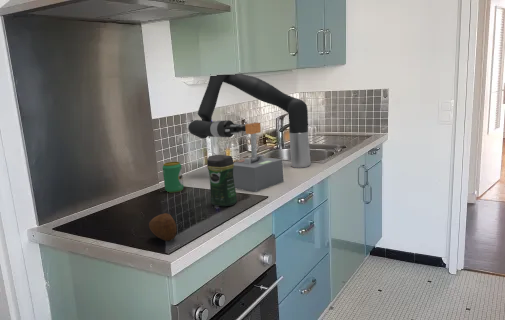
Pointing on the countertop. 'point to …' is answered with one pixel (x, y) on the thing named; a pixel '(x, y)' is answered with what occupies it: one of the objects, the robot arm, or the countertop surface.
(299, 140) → the robot arm
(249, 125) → the mallet
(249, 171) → the switch box
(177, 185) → the beverage can
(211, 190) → the coffee jar
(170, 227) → the potato
